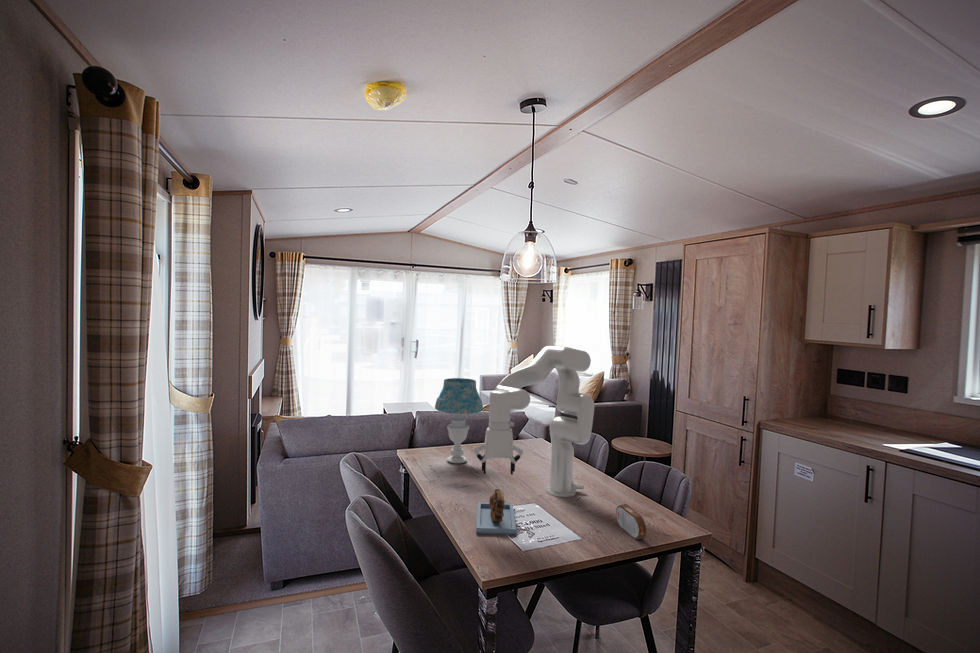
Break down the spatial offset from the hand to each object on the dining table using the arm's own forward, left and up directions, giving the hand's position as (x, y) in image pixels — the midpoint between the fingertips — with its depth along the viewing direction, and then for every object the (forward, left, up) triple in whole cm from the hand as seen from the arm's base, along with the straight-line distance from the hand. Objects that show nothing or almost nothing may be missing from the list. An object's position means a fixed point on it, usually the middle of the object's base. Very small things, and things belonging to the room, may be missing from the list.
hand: (498, 473), depth 165 cm
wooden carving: (0, +1, -17) cm, 17 cm away
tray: (0, 0, -17) cm, 17 cm away
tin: (-46, +6, -17) cm, 49 cm away
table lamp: (+18, -66, -17) cm, 70 cm away
